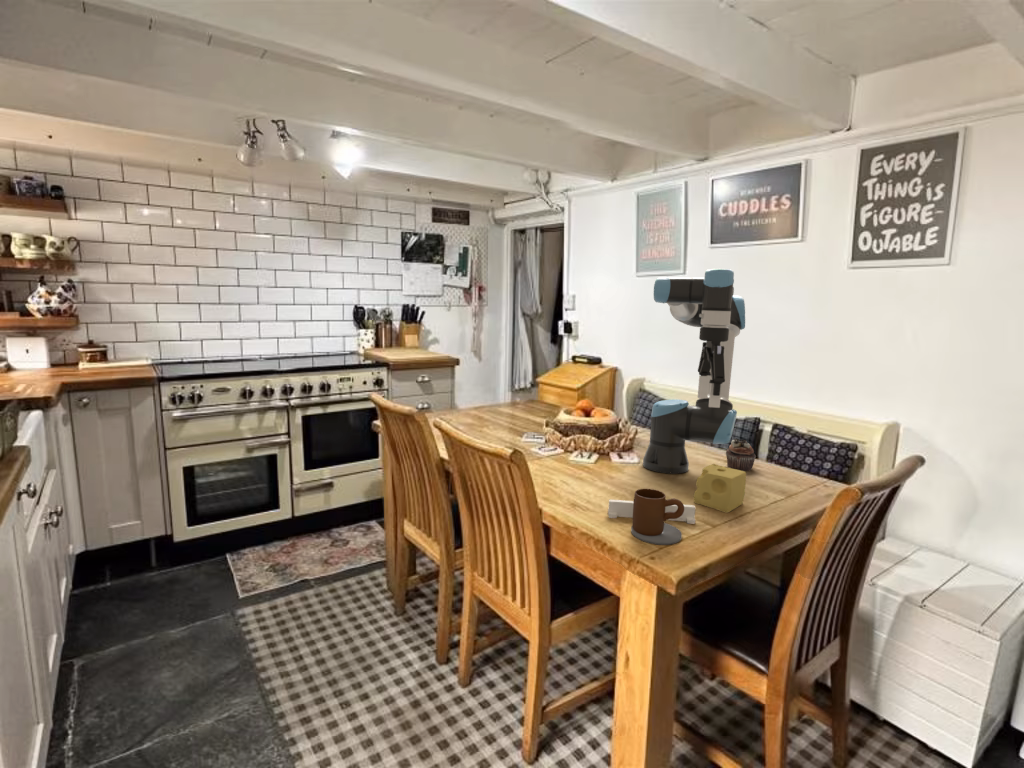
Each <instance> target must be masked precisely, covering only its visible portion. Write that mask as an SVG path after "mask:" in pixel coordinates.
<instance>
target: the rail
mask: <svg viewBox="0 0 1024 768" xmlns="http://www.w3.org/2000/svg"><path fill="white" fill-rule="evenodd" d="M633 503H634V500H624V499H623V500H620V499H608V509H607V514H608V515H607V516H608V518H610V519H617V517H620V518H631V519H633ZM683 505H684V513H683V514H682V516H681V517H679V518H677V519H668V520H667V521H676V522H685V523H686V524H693V525H695V524H696V517H695V515H696V506H695V505H694V504H684V503H683ZM677 509H678V506H677V505H672V506H667V507H665V512H675V511H677Z"/></svg>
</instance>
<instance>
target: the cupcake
mask: <svg viewBox="0 0 1024 768" xmlns="http://www.w3.org/2000/svg"><path fill="white" fill-rule="evenodd" d="M730 443H731V444H730V445H729V446H728V448H727V449H726V451H725V456H726V463H727V464H726V465H727V468H732V469H736V470H741V471H744V472H750V471H751V470H753V466H754V463H755V460H756V457H757V456H756V454H755V453H754V452H755V451H754V448H753V447H752V446H751V444H750V443H748V442H747V439H739V438H737V437H736V438H733V439H732V440H731V442H730Z"/></svg>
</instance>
